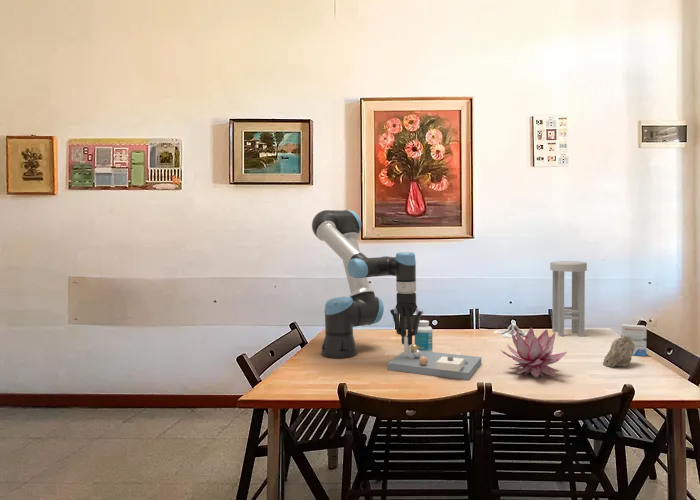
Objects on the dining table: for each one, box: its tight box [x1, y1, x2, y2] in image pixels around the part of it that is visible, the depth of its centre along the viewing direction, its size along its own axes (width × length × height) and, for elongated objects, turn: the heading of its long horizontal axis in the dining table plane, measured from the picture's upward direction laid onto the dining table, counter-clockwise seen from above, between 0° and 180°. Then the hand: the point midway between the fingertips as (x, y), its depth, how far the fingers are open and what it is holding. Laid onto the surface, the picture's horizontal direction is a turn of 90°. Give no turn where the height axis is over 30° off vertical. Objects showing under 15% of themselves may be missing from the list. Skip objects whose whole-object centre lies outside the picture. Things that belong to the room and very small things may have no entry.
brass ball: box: [410, 343, 418, 352], centre depth 190 cm, size 3×3×3 cm
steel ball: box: [413, 350, 422, 358], centre depth 181 cm, size 3×3×3 cm
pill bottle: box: [414, 319, 433, 352], centre depth 197 cm, size 8×7×14 cm
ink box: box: [620, 323, 648, 357], centre depth 191 cm, size 8×5×12 cm, turn 65°
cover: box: [436, 356, 464, 372], centre depth 167 cm, size 8×8×4 cm
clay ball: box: [419, 356, 428, 365], centre depth 171 cm, size 3×3×3 cm
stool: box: [549, 260, 588, 338], centre depth 228 cm, size 16×16×35 cm
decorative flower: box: [500, 327, 568, 378], centre depth 167 cm, size 21×21×15 cm
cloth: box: [493, 322, 537, 339], centre depth 231 cm, size 22×19×6 cm
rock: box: [602, 336, 635, 368], centre depth 176 cm, size 14×10×8 cm
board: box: [386, 349, 482, 381], centre depth 178 cm, size 30×22×2 cm
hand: (407, 352), depth 182 cm, fingers closed
